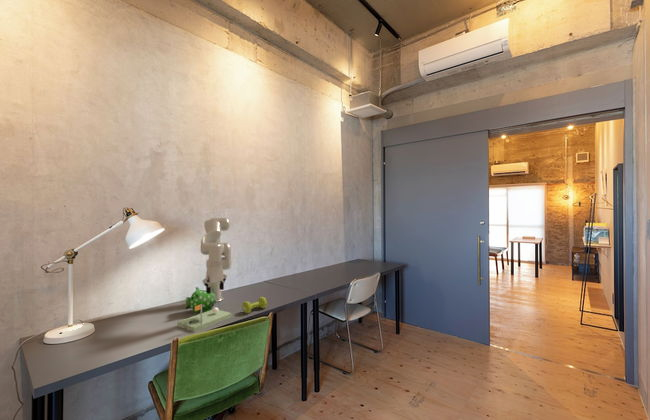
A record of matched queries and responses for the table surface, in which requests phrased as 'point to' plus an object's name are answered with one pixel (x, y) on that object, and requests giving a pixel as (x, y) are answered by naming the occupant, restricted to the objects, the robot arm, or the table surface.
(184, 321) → the green
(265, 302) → the dumbbell
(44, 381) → the table surface
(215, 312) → the ball
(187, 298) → the piggy bank
